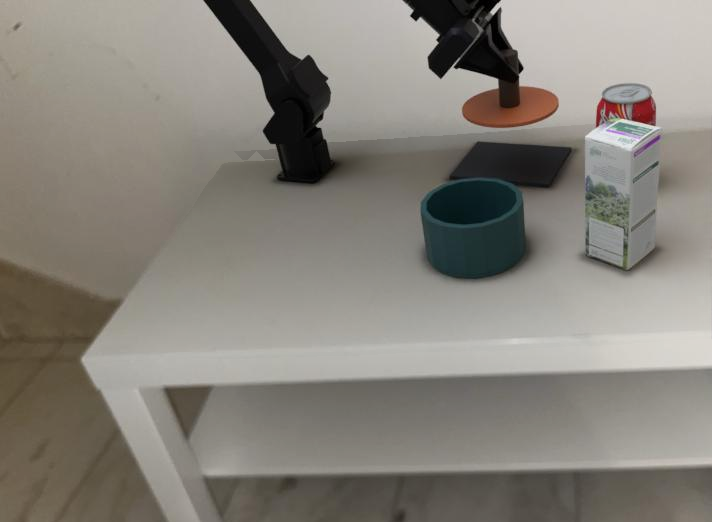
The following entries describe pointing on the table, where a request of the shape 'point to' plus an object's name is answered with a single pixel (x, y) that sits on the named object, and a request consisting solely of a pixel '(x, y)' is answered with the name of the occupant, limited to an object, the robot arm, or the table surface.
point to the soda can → (627, 104)
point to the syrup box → (621, 191)
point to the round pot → (474, 227)
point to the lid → (510, 102)
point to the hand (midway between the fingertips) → (519, 76)
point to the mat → (513, 163)
